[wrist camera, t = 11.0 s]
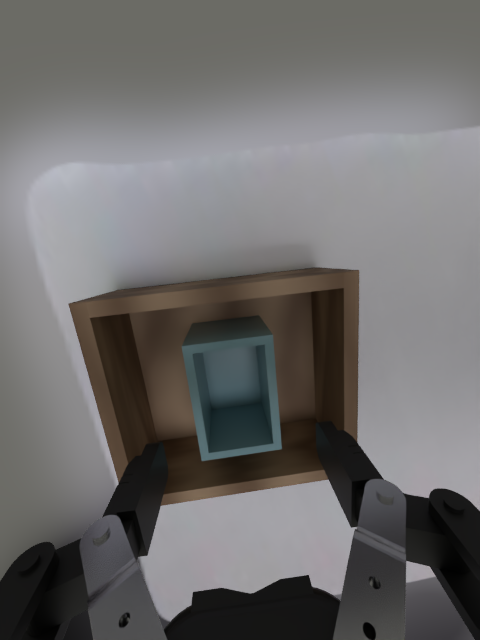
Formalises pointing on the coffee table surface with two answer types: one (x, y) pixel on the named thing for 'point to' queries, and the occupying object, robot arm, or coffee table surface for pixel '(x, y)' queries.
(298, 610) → the robot arm
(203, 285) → the walnut crate
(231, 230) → the coffee table surface
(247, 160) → the coffee table surface
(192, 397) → the teal crate
